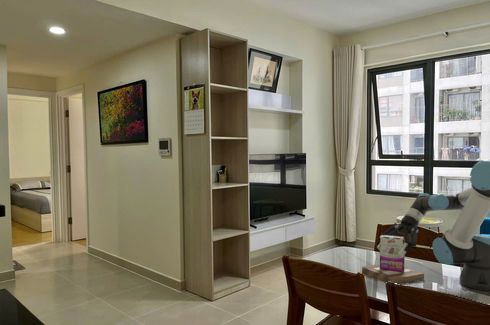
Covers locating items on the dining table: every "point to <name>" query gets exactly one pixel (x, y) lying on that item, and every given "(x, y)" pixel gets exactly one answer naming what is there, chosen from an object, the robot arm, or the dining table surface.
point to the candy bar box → (391, 253)
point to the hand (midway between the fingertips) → (389, 252)
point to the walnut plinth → (393, 274)
